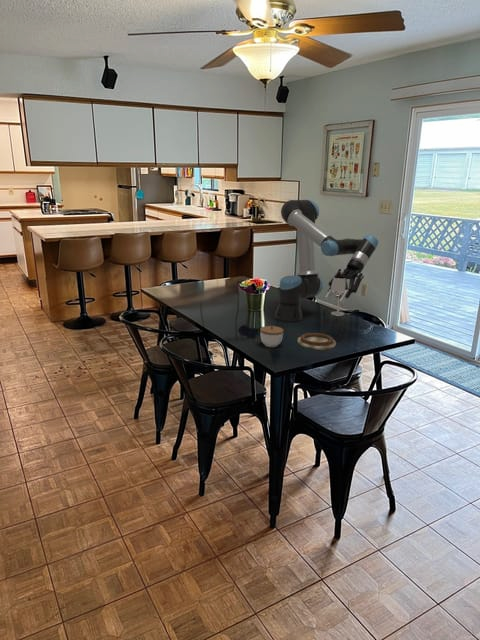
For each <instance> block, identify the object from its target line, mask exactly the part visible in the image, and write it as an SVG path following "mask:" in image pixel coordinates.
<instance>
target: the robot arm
mask: <svg viewBox="0 0 480 640" xmlns="http://www.w3.org/2000/svg"><path fill="white" fill-rule="evenodd" d="M319 215H320V209H319V205H318V204H317V203H316V202H315V201H313V200H311V199H310V200H309V199H290V200H288V201H286V202H284V204H283V205H282V207H281V208H280V216H281V219H283V221H284V222H285V223H286V224H287V225H289V226H290V227H294V228H296V229H297V232H296V233H297V244H298V245H297V249H298V265H299V272H298V273H297V274H296V275H287V276H284V277H282V278H281V279H280V280H279V291H278V292H279V293H278V305H277V308H276V310H275V314H274V319H276V320H278V321H280V322H287V323H288V322H289V323H295V322H301V321H302V320H303V312H302V309H301V300H302V299H307V298H314V297H317V296H318V295H320V293H322V290H323V289H324V288H323V286H324V283H323V279H322V278H321V277H320V276H319V273H318V272H317V271H316V266H315V265H316V264H315V263H316V262H315V248H314V247H315V246H314V245H317V246H318V247H319V248H320V251H321V253H322V254H323V255H324V256H326V257H335V256H344V255H345V256H346V255H352V256H351V257H350V260H349V261H348V263H347V265H346V268H344V269H342V268H339V269H338V270H337V272H336V274H334V276H333V277H332V279H331V280H330V281H328V286H329V289H328V290H327V294H326V295H325V299H326V301H330V299H331V298H332V297H333V296H334V295H333V294H332V292H331V284H332V281H333V278H334V277H335V276H344V277H346V279H347V280H349V283H348V290H346V291H345V293H344V295H343V296H342V297H341V298H340V300H339V303H341V305H344V304H345V303H346V300H347V299H349V298H350V296H351V295H352V294H356V293H357V291H358V289H359V287H360V284H361V282H362V280H363V279H364V278H365V276H364V274H363V273H362V271H363V270H364V268H365V266H366V264H367V263H368V261H369V260H370V259H371V257H372V255H373V253H374V252H375V251H376V249H377V247H378V244H379V240H378V238H377V237H375V236H374V235H372V234H367V235H365V236H363V238H362V239H357V238H356V239H355V238H342V239H336V238H334V237H333V236H332V235H330V234H329V233H327V232H326V231H325V230H324V229H323V228H321V227H320V226H319V225H317V224H316V220H317V219H318V217H319Z"/></svg>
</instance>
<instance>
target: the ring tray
mask: <svg viewBox="0 0 480 640" xmlns="http://www.w3.org/2000/svg"><path fill="white" fill-rule="evenodd" d="M297 344H298V345H299V346H301V347H303V348H305V349H311V350H318V351H319V350H320V351H321V350H322V351H325V350H331V349H334V348H335V347H336V344H337V342H336V340H335V339H334V337H332V336H331V335H328V334H326V333H319V332H307V333H304V334H301V335H300V336H299V337H298V338H297Z"/></svg>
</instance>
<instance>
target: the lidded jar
mask: <svg viewBox="0 0 480 640" xmlns="http://www.w3.org/2000/svg"><path fill="white" fill-rule="evenodd" d="M259 335H260V340H261V342H262V343H263V345H264V347H267V348H276V347H278V346H279V345H280V344H281V342H282V340H283V337H284V329H283V328H282V327H280V326H274V325H265V326H262V327H260V334H259Z"/></svg>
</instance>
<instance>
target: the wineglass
mask: <svg viewBox="0 0 480 640" xmlns="http://www.w3.org/2000/svg"><path fill="white" fill-rule="evenodd" d="M334 276H335V275H334ZM334 276H333V277H334ZM333 277H332V279H333V281H332V284H331V292H332V294H333V295H332V296H334V297H335V298H336V299H337V304H336V305H337V306H336V307H337V308H336V311H331V312H330V314H331V315H333V316H336V317H337V316H338V317H340V316H345V312H343V311H340V299H341V298H342V296H343V295H344V293H345V291H346V290H348V288H349V283H348V279H346V277H344V276H335V277H334V278H333Z"/></svg>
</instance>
